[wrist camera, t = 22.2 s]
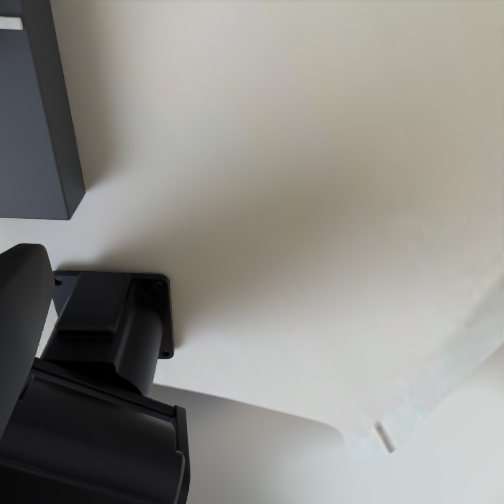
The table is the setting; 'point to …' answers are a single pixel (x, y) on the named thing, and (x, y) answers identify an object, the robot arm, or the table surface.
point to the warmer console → (35, 118)
